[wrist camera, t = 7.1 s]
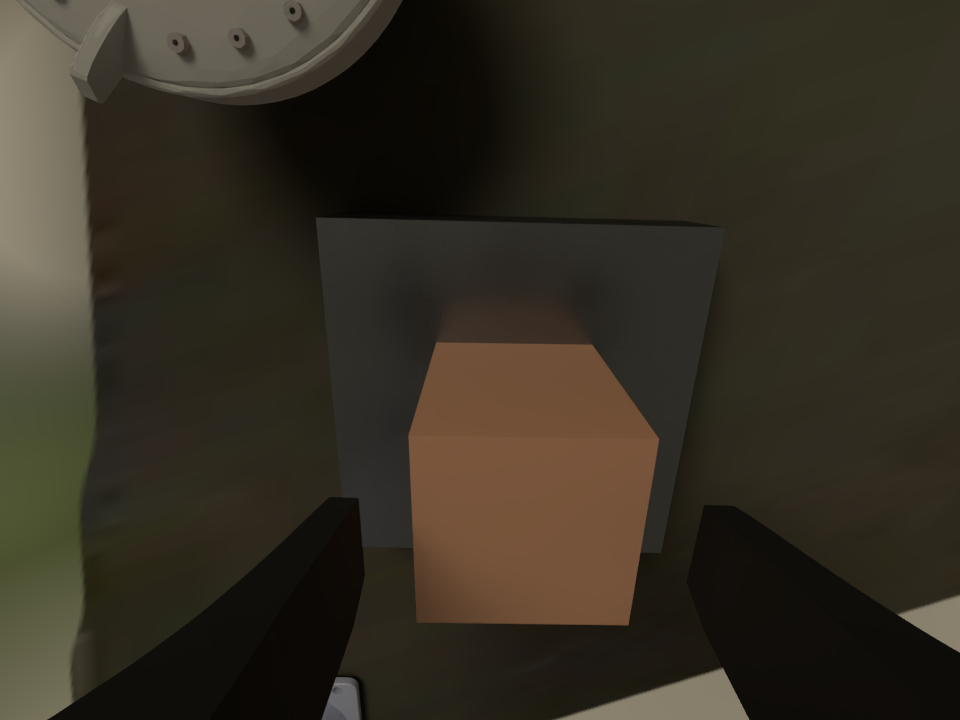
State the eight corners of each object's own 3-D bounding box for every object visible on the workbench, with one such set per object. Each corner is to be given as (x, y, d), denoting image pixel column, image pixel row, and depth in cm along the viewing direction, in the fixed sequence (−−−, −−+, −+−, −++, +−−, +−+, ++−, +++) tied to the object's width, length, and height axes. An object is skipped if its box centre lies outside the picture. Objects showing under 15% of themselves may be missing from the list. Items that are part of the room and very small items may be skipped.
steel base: (365, 497, 21) (346, 546, 18) (344, 212, 16) (315, 217, 14) (636, 503, 21) (661, 553, 18) (683, 220, 16) (725, 227, 14)
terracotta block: (438, 475, 17) (416, 622, 11) (436, 342, 15) (408, 435, 9) (578, 477, 17) (628, 625, 11) (592, 344, 15) (659, 438, 9)
